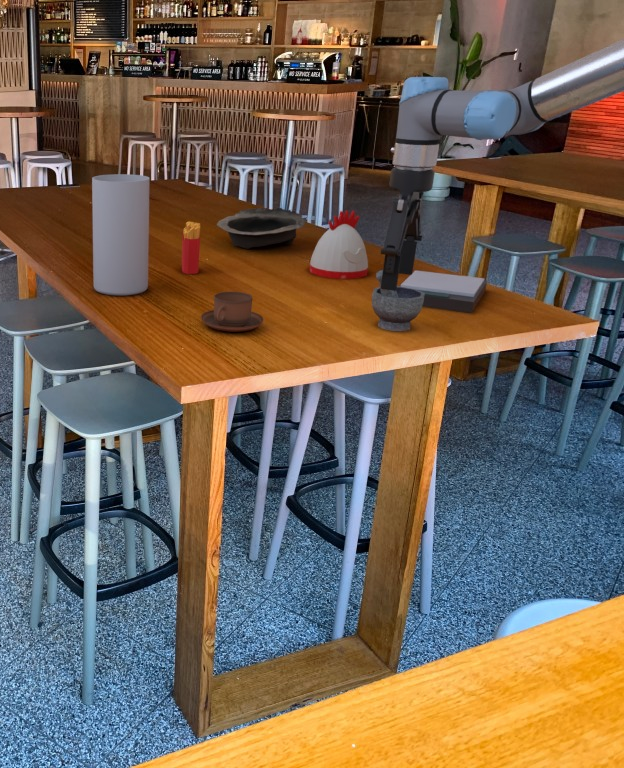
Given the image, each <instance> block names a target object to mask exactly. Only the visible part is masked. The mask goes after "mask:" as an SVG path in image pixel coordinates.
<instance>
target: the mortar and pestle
mask: <svg viewBox="0 0 624 768" xmlns="http://www.w3.org/2000/svg"><path fill="white" fill-rule="evenodd" d="M382 274H383V269H380V270H379V271H377V272H376V273H375V279H376V280H378V285H379V286H378V287H374V288H373V290H372V294H371V307H372V309H373V311H374V314H375V315H376V316H377V317H378V318H379V320H378V323H377V327H378V328H381V329H382V330H386V331H392V332H405V331H410V330H411V325H412V324H411V321H413V320H414V319H416V318H417V317H418V315H420V313H421V312H422V310H423V309H422V308H423V306H422V305H423V301H424V295H425V293H424V292H421V291H419V290H417V289H412V288H407V287H401V286H400V285H399V286H398V285H397V289H396V291H393V290H385V289H381V281H382Z"/></svg>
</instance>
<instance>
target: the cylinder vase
mask: <svg viewBox="0 0 624 768" xmlns="http://www.w3.org/2000/svg"><path fill="white" fill-rule="evenodd" d="M91 179H92V180H91V181H92V182H91V189H92V190H91V191H92V192H91V193H92V194H91V195H92V196H91V197H92V201H91V202H92V273H93V274H92V275H93V276H92V277H93V279H92V280H93V289H94V290H95V291H96V292H97V293H100V294H102V295H106V296H112V297H114V296H115V297H126V296H127V297H128V296H136V295H141V294H142V293H144V292H146V291H147V290H148V288H149V246H150V245H149V244H150V240H149V239H150V177H149V176H147V175H140V174H126V173H125V174H124V173H121V174H120V173H119V174H118V173H117V174H113V173H112V174H102V175H101V174H100V175H96V176H92V177H91Z"/></svg>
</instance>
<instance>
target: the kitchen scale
mask: <svg viewBox="0 0 624 768" xmlns="http://www.w3.org/2000/svg"><path fill="white" fill-rule="evenodd" d="M487 284H488V280H485V278H483V277H476V276H467V275H457V274H448V273H441V272H433V271H425V270H413V273H412V275H408V277H407V278H406V279H405V280H404V281H403V282H402V283H401V284H400V285H399V286H401V287H407V288H412V289H417V290H419V291H421V292H424V293H425V295H424V301H423V305H422V307H424V308H431V309H432V308H433V309H437V310H447V311H453V312H461V313H466V314H467V313H469V314H472V313H473V312H474V310H475V308H476V307H477V305H478V304H479V302H480V300H481V299H482V297H483V295H484V294H485V293H486V290H487Z"/></svg>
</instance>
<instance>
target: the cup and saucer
mask: <svg viewBox="0 0 624 768" xmlns="http://www.w3.org/2000/svg"><path fill="white" fill-rule="evenodd" d="M252 308H253V296H252V295H251V294H249V293H246V292H240V291H222V292H221V291H220V292H218V293H216V294H214V296H213V309H212V310H207V311H205V312H203V314H201V317H200V318H201V321H202V322H203V323H204V324H205V326H207V327H209V328H211V329H214V330H218V331H222V332H231V333H232V332H233V333H235V332H237V333H239V332H247V331H251V330H254V329H257V328H258V327H260V326H261V325H262V324H263V322H264V317H263V316H262V315H261V314H259V313H258V312H253V311H252Z"/></svg>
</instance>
